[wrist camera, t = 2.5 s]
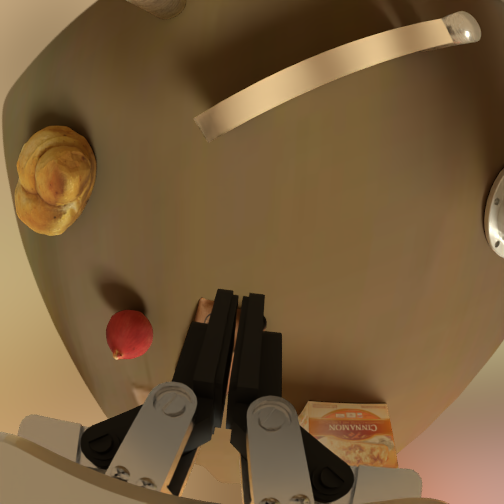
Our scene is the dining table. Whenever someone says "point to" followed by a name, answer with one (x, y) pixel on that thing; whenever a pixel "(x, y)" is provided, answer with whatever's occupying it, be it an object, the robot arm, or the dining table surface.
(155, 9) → the slab and cylinder
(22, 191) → the bread roll
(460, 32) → the hinge post
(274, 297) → the dining table surface
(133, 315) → the red round fruit
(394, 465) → the coffeecake box
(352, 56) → the strip
